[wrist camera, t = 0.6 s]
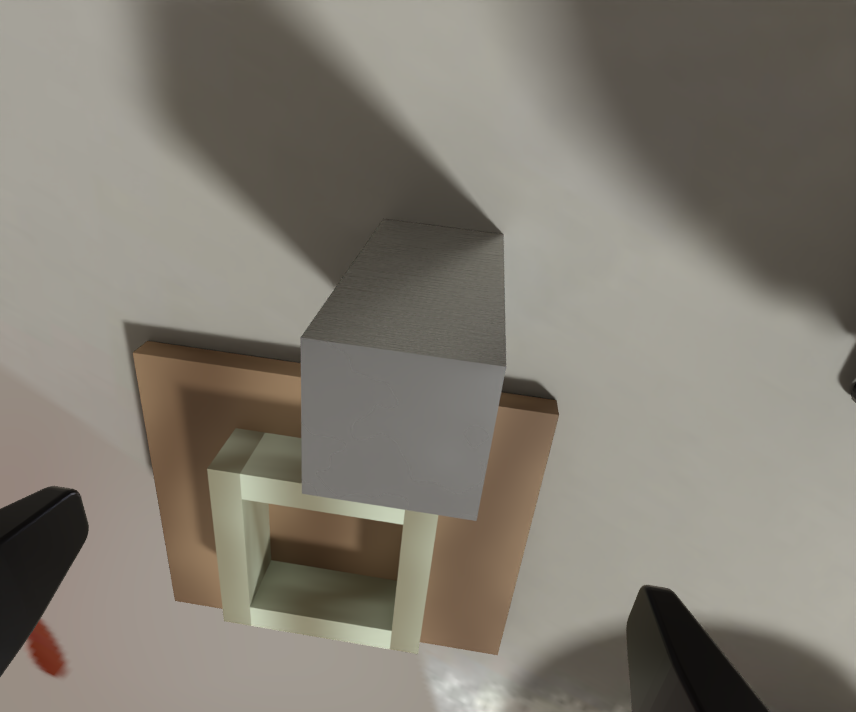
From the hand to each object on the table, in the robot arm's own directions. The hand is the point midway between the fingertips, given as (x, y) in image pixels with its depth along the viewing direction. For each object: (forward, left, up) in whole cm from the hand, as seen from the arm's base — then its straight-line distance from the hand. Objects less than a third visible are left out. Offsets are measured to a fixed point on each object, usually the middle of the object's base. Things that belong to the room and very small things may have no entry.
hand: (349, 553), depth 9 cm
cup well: (+3, +11, -12) cm, 17 cm away
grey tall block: (0, 0, -12) cm, 12 cm away
